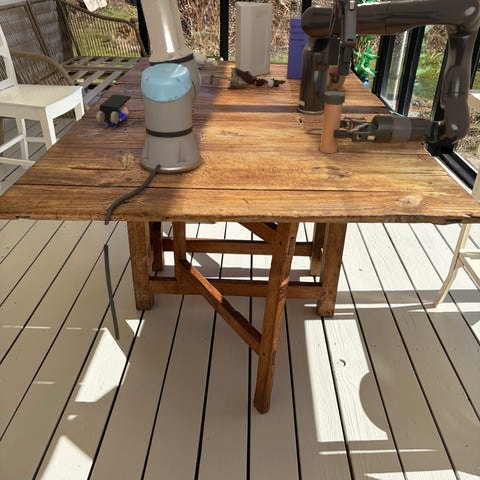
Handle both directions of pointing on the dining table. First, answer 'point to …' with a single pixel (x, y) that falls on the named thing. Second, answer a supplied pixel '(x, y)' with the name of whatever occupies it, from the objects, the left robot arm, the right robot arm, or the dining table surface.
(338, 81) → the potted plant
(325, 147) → the wooden cylinder
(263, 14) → the tall white carton
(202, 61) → the toy
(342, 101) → the lid
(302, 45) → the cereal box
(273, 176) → the dining table surface
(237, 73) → the figurine
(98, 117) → the figurine character
